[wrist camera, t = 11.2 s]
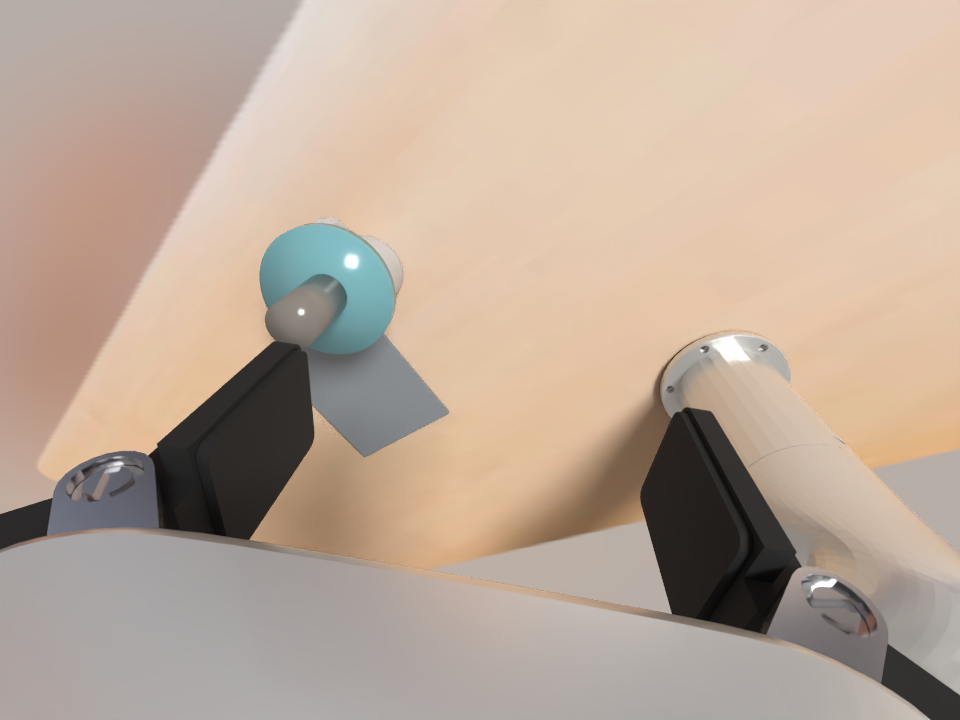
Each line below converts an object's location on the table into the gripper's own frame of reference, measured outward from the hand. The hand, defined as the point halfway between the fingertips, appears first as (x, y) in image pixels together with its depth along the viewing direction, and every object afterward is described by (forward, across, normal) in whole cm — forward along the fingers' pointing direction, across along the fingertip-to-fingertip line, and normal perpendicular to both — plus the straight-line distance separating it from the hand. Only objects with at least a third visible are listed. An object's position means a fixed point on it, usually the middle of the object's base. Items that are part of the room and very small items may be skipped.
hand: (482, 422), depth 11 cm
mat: (+33, +15, +24) cm, 44 cm away
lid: (+24, +14, +8) cm, 29 cm away
